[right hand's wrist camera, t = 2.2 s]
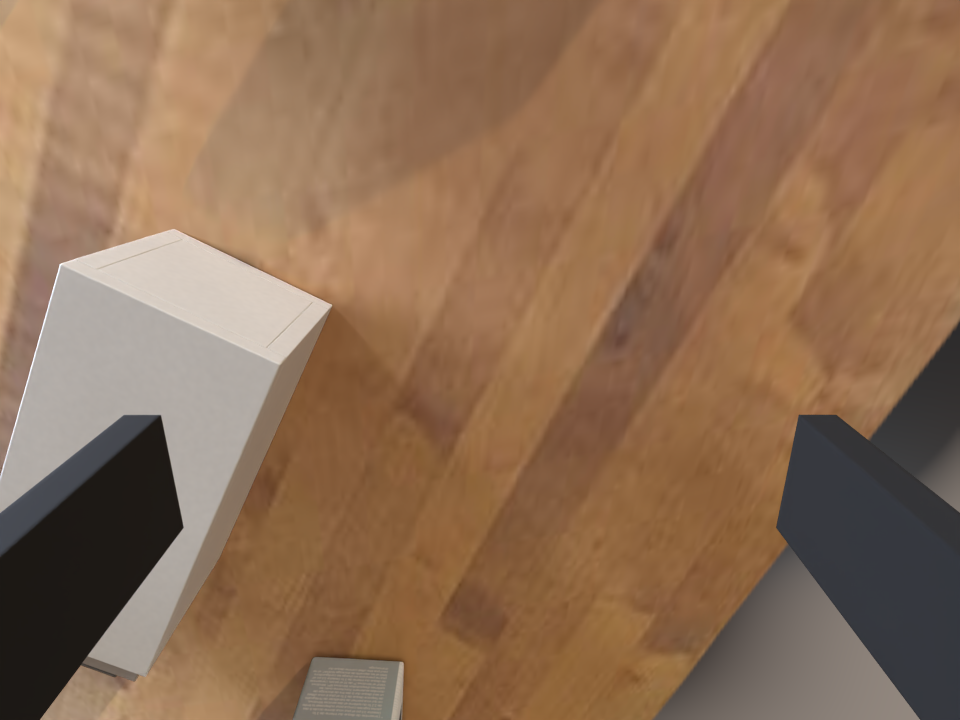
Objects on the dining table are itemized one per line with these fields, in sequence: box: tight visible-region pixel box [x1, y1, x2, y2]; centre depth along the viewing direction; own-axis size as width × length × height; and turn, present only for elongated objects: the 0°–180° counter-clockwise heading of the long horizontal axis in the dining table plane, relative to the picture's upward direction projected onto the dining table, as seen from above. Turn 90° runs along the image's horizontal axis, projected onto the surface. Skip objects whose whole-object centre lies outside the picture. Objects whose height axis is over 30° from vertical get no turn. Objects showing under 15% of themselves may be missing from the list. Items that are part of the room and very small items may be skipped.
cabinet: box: [0, 229, 332, 677], centre depth 36 cm, size 22×10×11 cm, turn 153°
